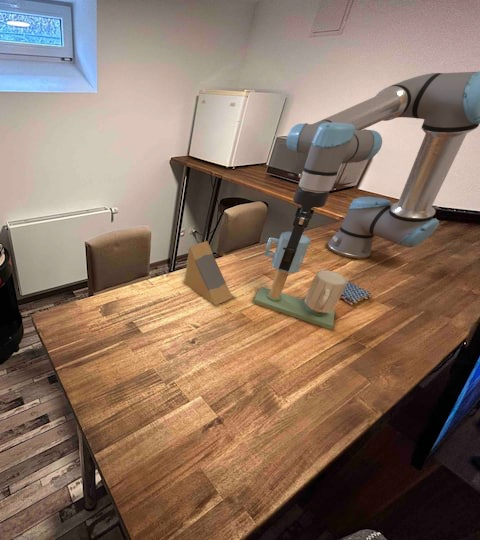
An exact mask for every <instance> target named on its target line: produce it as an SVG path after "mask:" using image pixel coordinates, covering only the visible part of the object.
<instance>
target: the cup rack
mask: <svg viewBox="0 0 480 540" xmlns="http://www.w3.org/2000/svg"><path fill="white" fill-rule="evenodd" d="M289 274H290V273H285V272H281V271H278V270H277V269H276V273H275V275H274V279H273V281H272V284H271V287H270V288H268V287H266V286H259V288H258V291H257V293H256V294H255V297H254V299H253V304H254V305H255V304H256V305H257V306H262V307H264V308H267V309H270V310H273V311H275V312H279V313H282V314H283V315H287V316H289V317H293V318H295V319H299V320H301V321H304V322H307V323H310V324H313V325H316V326H319V327H322V328H324V329H328V330H331V331H332V330H333V328H334V323H335V312H336V309H335V308H334V310H333V311H331V312H328V313H326V312H319V311H316V310H314V309H312V308H310V307H308V306H307V305H306V303H305V302H304V300H305V299H303V298H300V297H296V296H293V295H290V294H288V293H284V292H283V289H284V287H285V285H286V282H287V279H288V276H289Z"/></svg>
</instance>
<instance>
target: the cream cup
mask: <svg viewBox="0 0 480 540" xmlns="http://www.w3.org/2000/svg"><path fill="white" fill-rule="evenodd" d="M347 282H348V278H346V277H345V276H344V275H343V274H341V273H339V272H336V271H332V270H329V269H319V270H317V271H316V272H315V274H314V277H313V279H312V281H311V284H310V286H309V288H308V290H307V292H306V295H305V296H304V299H303V300H304V302H305V303H306V305H307V306H308V307H310V308H312V309H314V310H316V311H319V312H326V313H328V312H331V311H333V310H334V309H335V308H336V306H337V304H338V302H339V300H340V299H341V298H340V296H341V294H342V292H343V291H344V289H345V287H346V285H347Z"/></svg>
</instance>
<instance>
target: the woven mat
mask: <svg viewBox="0 0 480 540" xmlns="http://www.w3.org/2000/svg"><path fill="white" fill-rule="evenodd" d="M371 295H372V293H371V292H370V291H369V290H365V288H362V287H360V285H356V284H355V283H352V282H351V281H350V280H347V285H346V287H345V289H344V291H343V292H342V294H341V296H340V298H339V299H341V300H343V301H344V302H345V303H347V304H348V305H350V306H353V305H354V304H358V302H360V301H363V300H368V299H369V298H371Z"/></svg>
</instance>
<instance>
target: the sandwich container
mask: <svg viewBox="0 0 480 540" xmlns="http://www.w3.org/2000/svg"><path fill="white" fill-rule="evenodd" d="M217 262H218V261H217V260H216V258H215V256H214V253H213V251H212V249H211V245H210V244H209V241H208V240H206V241H202V242H200V243H196V244H193V245H192V244H191V245H189V247H188V254H187V260H186V269H185V276H184V284H186V285H187V286H188V287H189V288H191V289H192V290H193V291H195V293H197V294H199V295H200V296H202V297H203V298H205V299H206V300H207V301H208V302H210V303H212V304H213V305H214V306H217V305H219V304H222V303H224V302H226V301H228V300H230V299H232V298H233V295H232V293H231V291H230V289H229V286H228V284H227V282H226V280H225V278H224V276H223V274H222V272H221V270H220V269H221V268H220V267H219V265H218V263H217Z"/></svg>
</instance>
